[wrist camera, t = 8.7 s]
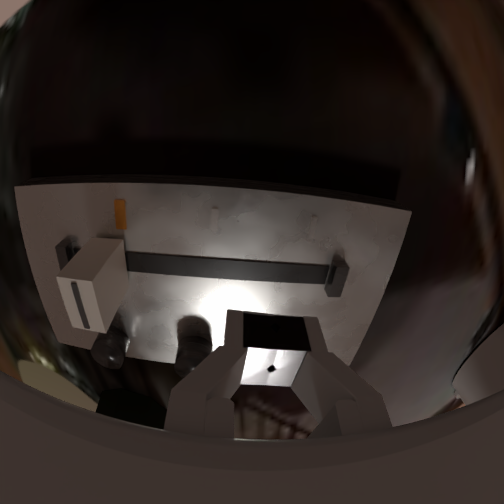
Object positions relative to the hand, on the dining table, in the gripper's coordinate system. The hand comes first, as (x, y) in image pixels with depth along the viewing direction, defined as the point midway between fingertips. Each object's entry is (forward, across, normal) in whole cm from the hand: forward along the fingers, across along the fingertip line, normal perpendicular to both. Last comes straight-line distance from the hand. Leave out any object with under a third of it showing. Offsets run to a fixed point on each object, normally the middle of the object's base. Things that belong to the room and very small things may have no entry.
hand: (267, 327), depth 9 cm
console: (+8, +3, +4) cm, 9 cm away
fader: (+6, +8, +2) cm, 10 cm away
